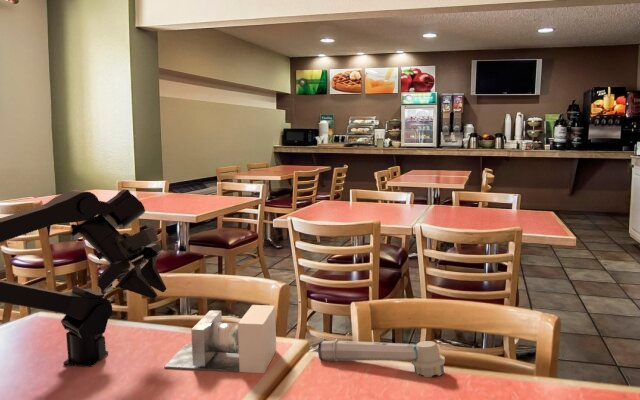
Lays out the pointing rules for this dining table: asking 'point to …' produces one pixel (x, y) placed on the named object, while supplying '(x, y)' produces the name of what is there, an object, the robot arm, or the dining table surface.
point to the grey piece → (213, 338)
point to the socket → (257, 338)
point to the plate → (216, 363)
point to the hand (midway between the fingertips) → (160, 294)
